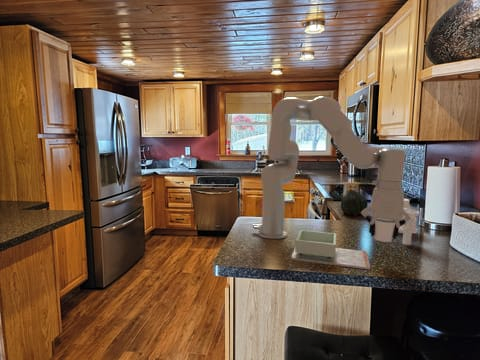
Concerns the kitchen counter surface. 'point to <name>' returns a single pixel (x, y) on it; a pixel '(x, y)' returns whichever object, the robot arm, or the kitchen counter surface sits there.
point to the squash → (353, 203)
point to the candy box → (350, 187)
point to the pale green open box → (316, 243)
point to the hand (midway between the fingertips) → (382, 235)
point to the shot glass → (384, 229)
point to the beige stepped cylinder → (409, 226)
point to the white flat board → (338, 258)
